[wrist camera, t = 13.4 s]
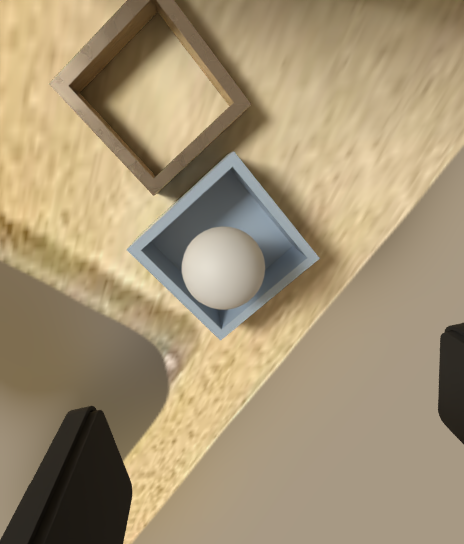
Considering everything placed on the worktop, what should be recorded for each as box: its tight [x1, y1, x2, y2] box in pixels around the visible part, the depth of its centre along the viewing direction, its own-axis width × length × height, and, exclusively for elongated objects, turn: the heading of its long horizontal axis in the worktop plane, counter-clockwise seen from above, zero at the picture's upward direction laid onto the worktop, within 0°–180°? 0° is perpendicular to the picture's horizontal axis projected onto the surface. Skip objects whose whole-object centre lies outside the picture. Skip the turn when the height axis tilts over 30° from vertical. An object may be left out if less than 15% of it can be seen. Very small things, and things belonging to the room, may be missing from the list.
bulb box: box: [127, 151, 320, 340], centre depth 30 cm, size 12×12×5 cm
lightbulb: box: [182, 226, 265, 310], centre depth 26 cm, size 6×6×11 cm
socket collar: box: [49, 0, 251, 196], centre depth 27 cm, size 11×11×2 cm
